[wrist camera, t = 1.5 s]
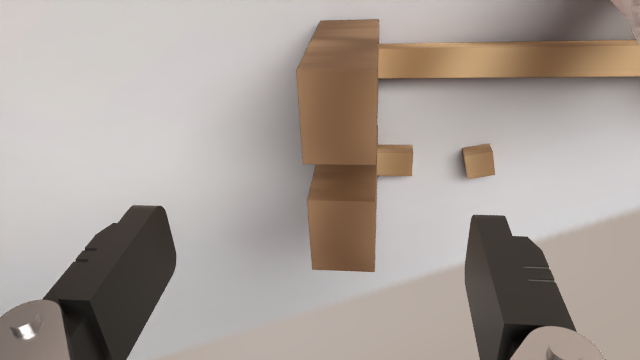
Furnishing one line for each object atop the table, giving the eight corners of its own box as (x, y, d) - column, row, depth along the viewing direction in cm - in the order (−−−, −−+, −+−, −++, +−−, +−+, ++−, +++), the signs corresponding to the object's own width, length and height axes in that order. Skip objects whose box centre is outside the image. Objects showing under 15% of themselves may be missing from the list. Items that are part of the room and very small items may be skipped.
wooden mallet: (323, 94, 27) (303, 163, 20) (313, -129, 22) (280, -135, 15) (705, 92, 25) (826, 171, 18) (798, -158, 20) (1018, -180, 13)
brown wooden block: (328, 184, 31) (312, 269, 24) (325, 124, 29) (307, 200, 22) (488, 186, 29) (519, 277, 23) (497, 125, 27) (534, 205, 21)
